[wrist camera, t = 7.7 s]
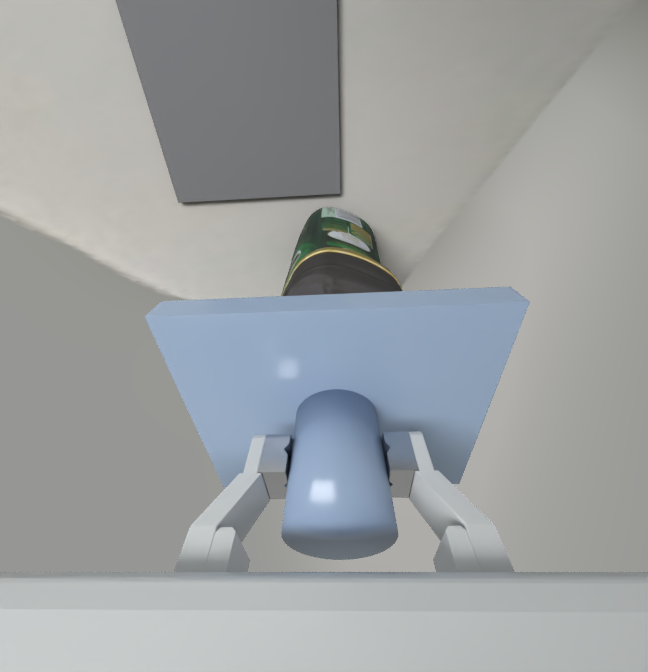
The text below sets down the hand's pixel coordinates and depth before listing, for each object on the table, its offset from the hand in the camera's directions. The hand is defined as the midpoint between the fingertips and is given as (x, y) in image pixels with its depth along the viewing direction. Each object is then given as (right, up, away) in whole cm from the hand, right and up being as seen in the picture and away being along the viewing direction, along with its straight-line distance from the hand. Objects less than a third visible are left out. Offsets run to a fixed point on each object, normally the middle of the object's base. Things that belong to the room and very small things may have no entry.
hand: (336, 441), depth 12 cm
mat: (-7, +24, +13) cm, 28 cm away
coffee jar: (0, +13, +20) cm, 24 cm away
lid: (0, +1, +2) cm, 3 cm away
